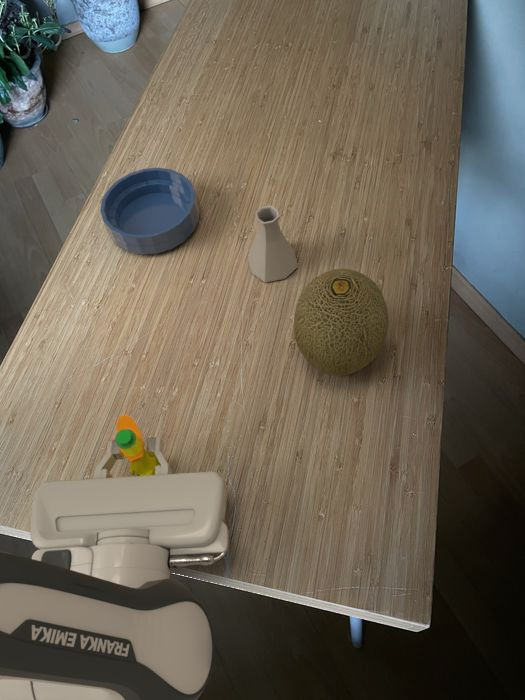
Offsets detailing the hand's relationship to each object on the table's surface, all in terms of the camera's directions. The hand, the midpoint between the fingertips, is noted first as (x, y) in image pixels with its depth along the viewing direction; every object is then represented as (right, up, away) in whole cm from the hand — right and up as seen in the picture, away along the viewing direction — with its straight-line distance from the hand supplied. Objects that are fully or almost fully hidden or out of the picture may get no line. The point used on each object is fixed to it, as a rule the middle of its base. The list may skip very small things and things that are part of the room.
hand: (136, 440), depth 66 cm
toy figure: (+1, -4, +5) cm, 7 cm away
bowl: (-3, +30, +26) cm, 40 cm away
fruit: (+24, +10, +11) cm, 28 cm away
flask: (+16, +23, +20) cm, 34 cm away
